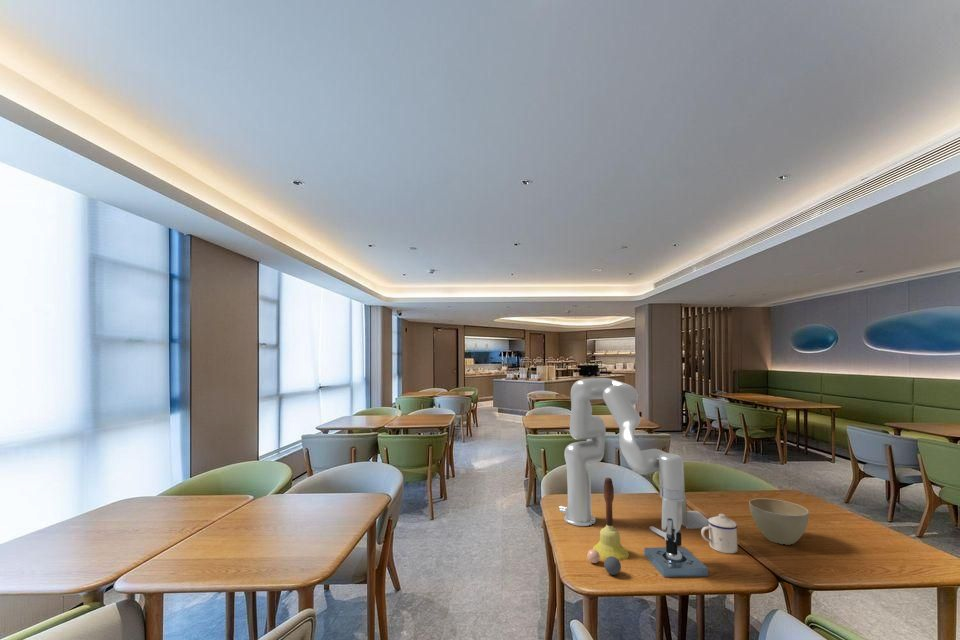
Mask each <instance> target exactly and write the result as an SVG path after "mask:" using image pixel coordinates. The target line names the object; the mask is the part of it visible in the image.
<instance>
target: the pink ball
mask: <svg viewBox="0 0 960 640" xmlns="http://www.w3.org/2000/svg"><path fill="white" fill-rule="evenodd" d="M586 557H587V560H588V561H589V562H590V563H591V564H597V563H598V562H599V561H600V559H601V558H600V555H599V553H598V551H596V550H594V549H592V548H591V549H589V550H588V552H587V556H586Z"/></svg>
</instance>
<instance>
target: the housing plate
mask: <svg viewBox="0 0 960 640" xmlns="http://www.w3.org/2000/svg"><path fill="white" fill-rule="evenodd" d="M643 549H644V550H643V551H644V553H643V555H644V557H645V558H646V559H647V560H648V561H649V562H650V563H651V564H652V566H653V567H654V568H655V569H656V570H657V571H658V573H659V574H660V575H662V577H663V578H682V577H683V578H684V577H685V578H687V577H689V578H690V577H693V578H694V577H709V568H708V567H707V566H706V565H705V563H703V561H700V559H699V558H697V557H696V556H695V555H694V554H693V553H691V551H689V550H688V549H687V548H686V547H685V546H677V550H678V551H679V552H680V553H681V554H682V557H683V561H682V563H675V562H672V561H669V560H667V559H666V546H665V547H644V548H643Z"/></svg>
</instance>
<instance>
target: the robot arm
mask: <svg viewBox="0 0 960 640" xmlns="http://www.w3.org/2000/svg"><path fill="white" fill-rule="evenodd" d="M590 400H603V402H604V403H605V406H606V408H608V410H609V412H610V414H611V416H612V417H613V419H614V421H615V423H616V425H617V427H618V428H619V434H618V442H619V449H620V451H621V454H622V456H623V457H624V460H625V461H626V462H627V463H626V464H627V465H628V466H629V468H630V469H631V470H632V471H633V472H634V473H636V474H638V475H646V474H651V473H656V472H658V474H659V475H658V476H659V497H660V498H661V500H662V501H661V531H665V532H666V540H665V547H666V552H667V553H670V554H674V555H677V554H678V553H677V547H682V532H681V531H682V530H681V529H682V528H681V527H682V526H683V524H682V501H684V500H685V495H686V494H685V471H684V459H683V457H682V456H680V455H679V454H676V453H670V452H669V453H668V452H667V451H664V450H662V449H660V448H659V449H658V448H650V449H643V450H641V448H640V447H639V445H638V443H637V441H636V438H635V429H636V428H637V427H638V426H639V425H640V424H641V423H642V422H641V421H642V418H641V416H640V415H639V413H638V412H637V410H636V408H635V407H634V406H635V405H637V403H638V400H639V393H638V391H637V390H636V388H635V387H634V386H632V385H630V384H628V383H625V382H622V381H619V380H616V379H612V378H609V377H590V378H582V379H578V380H577V381H575V382H574V383H573V384H572V386H571V389H570V402H571V404H570V405H571V406H570V417H569V418H570V419H569V421H570V422H569V433H570V437H572V439H574V440H577V441H575V442H571V443H569V444H568V445H567V446H566V447H565V449H564V460H565V467H566V482H567V483H566V484H567V487H566V488H567V506H565V505H559V507H558V510H559V513H564V516H563V518H564V519H563V520H564V521H565V522H566V523H568V524H570V525H573V526H576V527H590V526H593V525H594V524H595V523H596V518H595V516H594V515H593V514H592V490H591V489H592V487H591V486H592V482H591V481H592V480H591V479H592V478H591V475H590V474H591V473H590V471H589V469H588V468H587V467H588V465H592V464H597V463H600V462H601V461H602V460H603V458H604V455H605V446H606V445H605V444H606V431H607V429H606V424H605V422H604V420H603V419H602V418H601V417H600V416H598V415H593V407H592V403H591V401H590ZM581 440H582V441H581ZM583 440H584V441H583ZM592 524H593V525H592ZM589 525H590V526H589Z"/></svg>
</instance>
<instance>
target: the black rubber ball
mask: <svg viewBox="0 0 960 640" xmlns="http://www.w3.org/2000/svg"><path fill="white" fill-rule="evenodd" d="M603 566H604V569H605V571H606V572H607V573H608V574H610V575H613V576H615V575H617V574H619V573H620V572H621V569H622V565H621V562H620V561H619V560H618V559H617V558H615V557H613V556H610V557H607V558H606V559H604V563H603Z"/></svg>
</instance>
